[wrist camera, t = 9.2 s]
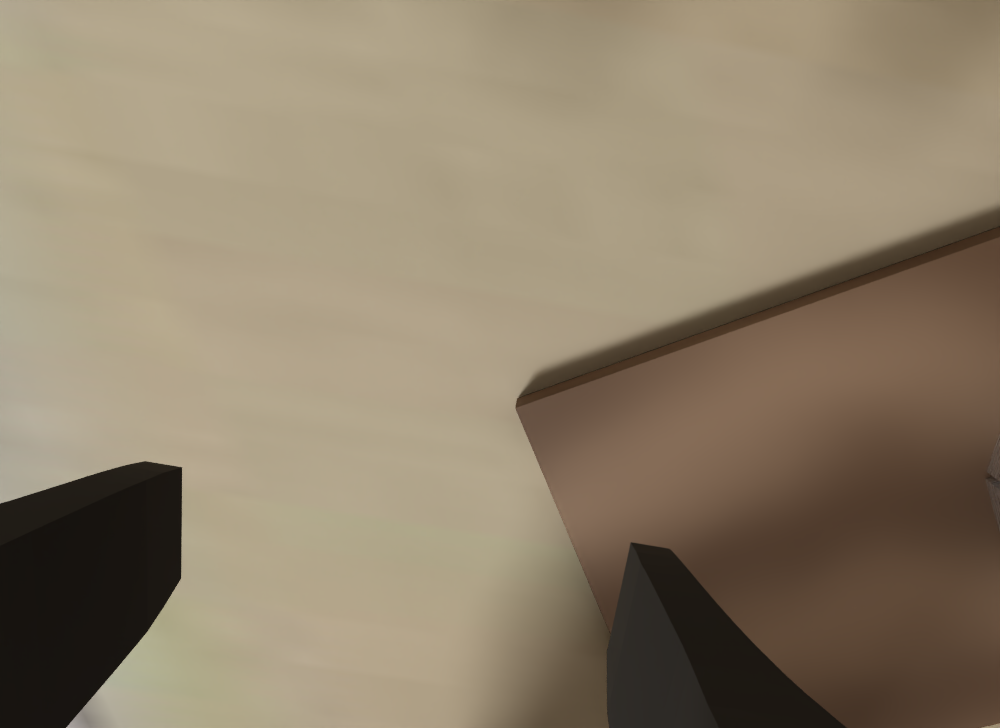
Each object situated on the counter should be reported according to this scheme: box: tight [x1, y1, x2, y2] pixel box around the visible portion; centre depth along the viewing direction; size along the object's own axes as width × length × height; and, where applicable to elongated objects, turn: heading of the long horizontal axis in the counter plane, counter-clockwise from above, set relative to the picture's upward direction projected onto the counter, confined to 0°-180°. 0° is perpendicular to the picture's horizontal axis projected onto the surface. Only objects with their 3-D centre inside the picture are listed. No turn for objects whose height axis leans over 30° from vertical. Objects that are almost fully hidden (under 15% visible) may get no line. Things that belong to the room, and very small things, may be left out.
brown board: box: [516, 227, 1000, 728], centre depth 20 cm, size 14×20×1 cm
